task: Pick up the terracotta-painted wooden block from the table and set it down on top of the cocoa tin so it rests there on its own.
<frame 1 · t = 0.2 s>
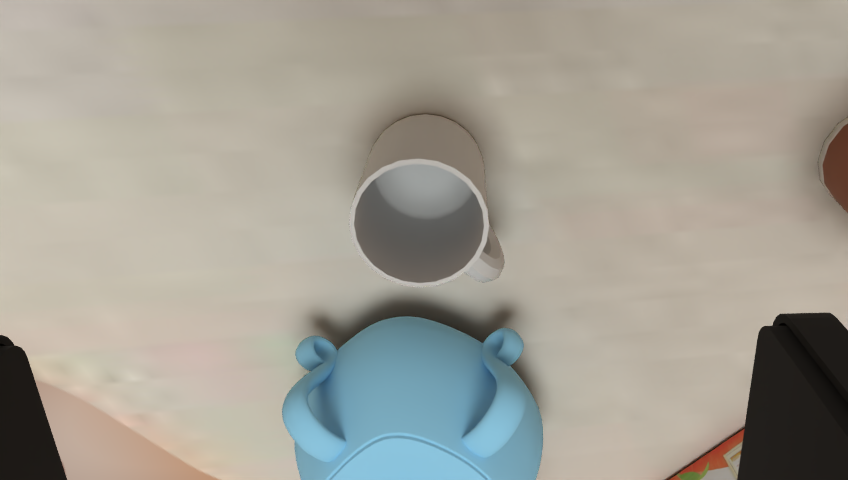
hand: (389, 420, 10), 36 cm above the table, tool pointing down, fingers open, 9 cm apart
decorative pot: (421, 392, 54), on the table
cup: (441, 182, 47), on the table
cracker box: (752, 456, 55), on the table
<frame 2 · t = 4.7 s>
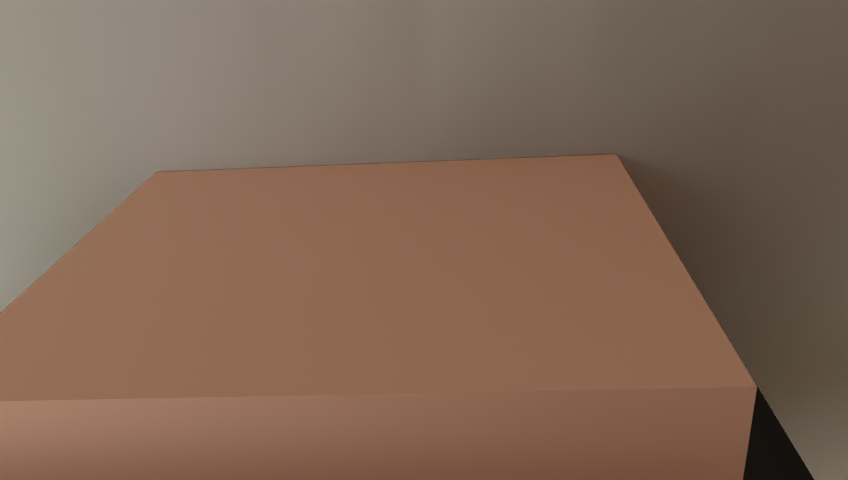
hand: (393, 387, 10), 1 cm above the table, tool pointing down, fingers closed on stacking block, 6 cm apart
stacking block: (398, 358, 11), on the table, touching gripper
when the fingers open (14 cm above the table, at t = 12.0 s): stacking block drops 1 cm, resting on coffee cup.
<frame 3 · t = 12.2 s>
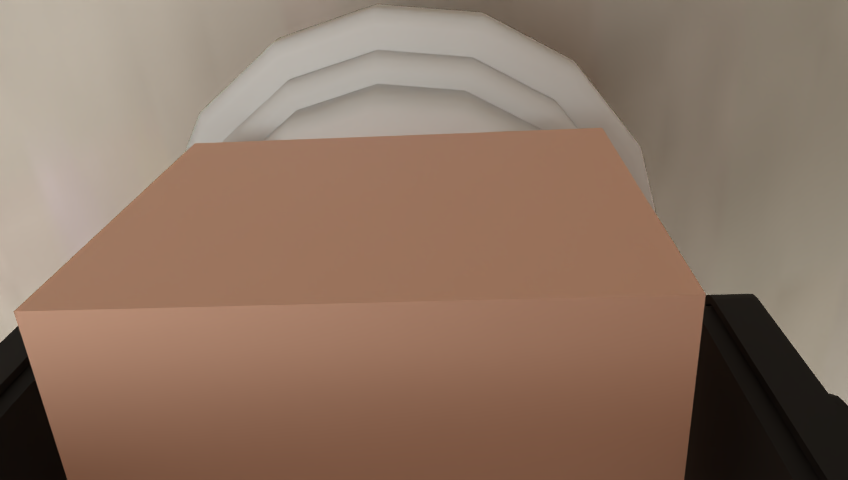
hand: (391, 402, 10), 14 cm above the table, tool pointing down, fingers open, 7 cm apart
stacking block: (407, 313, 12), point 12 cm above the table, touching coffee cup
coffee cup: (430, 115, 23), on the table, touching stacking block
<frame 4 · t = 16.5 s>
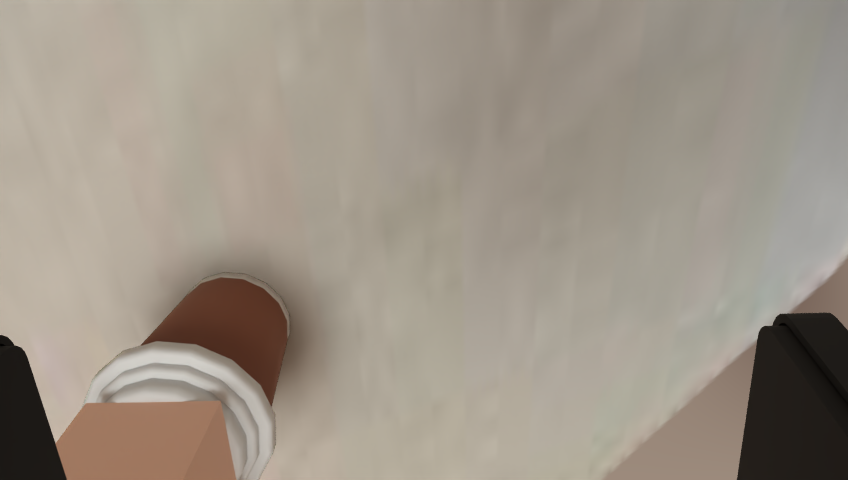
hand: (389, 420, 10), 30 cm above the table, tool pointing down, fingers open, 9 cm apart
stacking block: (166, 456, 34), point 12 cm above the table, touching coffee cup
coffee cup: (237, 318, 45), on the table, touching stacking block
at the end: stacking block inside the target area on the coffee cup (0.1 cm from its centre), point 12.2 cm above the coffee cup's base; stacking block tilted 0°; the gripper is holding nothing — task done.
